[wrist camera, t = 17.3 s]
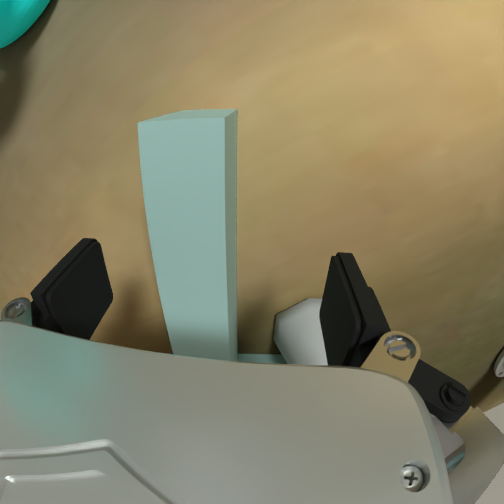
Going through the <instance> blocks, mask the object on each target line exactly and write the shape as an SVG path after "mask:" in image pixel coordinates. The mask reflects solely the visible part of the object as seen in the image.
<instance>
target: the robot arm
mask: <svg viewBox="0 0 504 504" xmlns="http://www.w3.org/2000/svg"><path fill="white" fill-rule="evenodd" d="M31 296H32V298H33V301H32V302H30V300H29V299H28V298H25V297H20V298H16V299H14V300H12V301H11V302H9V303H8V304H7V305H6V306H5V307H4V309H3V310H2V314H1V320H0V504H475V502H476V501H477V500H478V499H479V497H480V496H481V494H482V493H483V492H484V491H485V489H486V488H487V487H488V486H489V484H490V483H491V481H492V480H493V479H494V477H495V476H496V474H497V473H498V471H499V470H500V468H501V467H502V465H503V464H504V434H503V433H502V432H501V431H500V430H499V429H498V428H497V427H496V426H495V425H494V424H493V423H492V422H491V421H490V420H489V419H488V418H487V417H486V416H485V415H484V414H483V413H482V411H481V410H480V409H479V408H478V407H476V408H475V409H473V408H472V407H471V406H470V404H471V398H470V394H469V392H468V390H467V389H466V388H465V386H463V385H462V384H461V383H459V382H458V381H456V380H454V379H453V378H451V377H449V376H447V375H446V374H444V373H442V372H441V371H439V370H437V369H435V368H434V367H432V366H430V365H429V364H427V363H425V362H424V361H422V360H420V359H419V357H420V353H421V351H420V346H419V345H418V343H417V341H416V340H415V339H414V338H413V337H411V336H409V335H408V334H406V333H403V332H398V331H392V332H391V330H390V328H389V325H388V323H387V321H386V318H385V316H384V314H383V311H382V309H381V307H380V304H379V302H378V300H377V298H376V296H375V293H374V291H373V289H372V288H371V287H368V286H367V284H366V282H365V279H364V277H363V275H362V273H361V271H360V269H359V266H358V264H357V262H356V260H355V258H354V256H353V254H352V253H341V252H338V253H337V254H336V256H332V257H331V261H330V266H329V271H328V275H327V280H326V285H325V289H324V294H323V298H322V302H321V307H320V312H319V319H320V324H321V330H322V335H323V341H324V346H325V352H326V357H327V363H328V365H304V364H274V363H255V362H240V361H228V360H217V359H207V358H198V357H189V356H181V355H174V354H166V353H159V352H153V351H146V350H140V349H134V348H128V347H123V346H117V345H112V344H107V343H102V342H97V341H92V340H90V338H91V336H92V334H93V333H94V331H95V329H96V327H97V326H98V324H99V322H100V321H101V319H102V317H103V316H104V314H105V312H106V311H107V309H108V308H109V306H110V304H111V303H112V300H113V293H112V289H111V285H110V282H109V278H108V274H107V270H106V266H105V262H104V257H103V253H102V248H101V245H100V243H99V242H98V241H97V240H96V239H91V238H83V239H82V240H81V241H80V242H79V243H78V244H76V245H75V246H74V247H73V248H72V249H71V250H70V251H69V252H68V253H67V254H66V255H65V256H64V257H63V258H62V259H61V260H60V262H59V263H58V264H57V265H56V266H55V267H54V268H53V269H52V270H51V271H50V272H49V273H48V274H47V275H46V276H45V277H44V278H43V280H42V281H41V282H40V283H39V284H38V285H37V286H36V287H35V288H34V290H33V291H32V292H31ZM494 372H495V375H496V376H497V377H504V349H503V350H502V352H501V353H500V355H499V356H498V358H497V360H496V362H495V365H494Z"/></svg>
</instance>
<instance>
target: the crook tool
mask: <svg viewBox="0 0 504 504" xmlns="http://www.w3.org/2000/svg"><path fill="white" fill-rule="evenodd" d="M237 114H238V109H207V110H185V111H179V112H175V113H171V114H167V115H163V116H159V117H156V118H152V119H148V120H145V121H141V122H138V139H139V152H140V164H141V175H142V185H143V194H144V202H145V210H146V218H147V225H148V232H149V238H150V245H151V251H152V257H153V263H154V268H155V274H156V279H157V284H158V289H159V294H160V299H161V304H162V309H163V313H164V318H165V322H166V326H167V331H168V335H169V339H170V343H171V347H172V351H173V354H174V355H181V356H189V357H198V358H207V359H217V360H228V361H240V362H255V363H274V364H287V362H286V361H285V359H284V357H283V356H282V354H238V339H237Z"/></svg>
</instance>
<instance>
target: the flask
mask: <svg viewBox="0 0 504 504" xmlns="http://www.w3.org/2000/svg"><path fill="white" fill-rule="evenodd" d="M321 302H322V298H308V299H306V300H304V301H302V302H300V303H298V304H296V305H294V306H292V307H290V308H288V309H286V310H284V311H282V312H280V313H278V314H276V321H275V329H274V336H273V340H274V342H275V343H276V345H277V347H278V349H279V350H280V352H281V354H282V356H283V357H284V359H285V361H286V362H287V364H304V365H328V363H327V357H326V352H325V346H324V341H323V335H322V330H321V324H320V319H319V312H320V307H321Z"/></svg>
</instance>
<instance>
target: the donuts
mask: <svg viewBox="0 0 504 504" xmlns="http://www.w3.org/2000/svg"><path fill="white" fill-rule="evenodd" d="M49 2H50V0H0V49H1V48H3V47H5V46H7V45H9V44H11V43H12V42H14V41H15V40H17V39H18V38H19V37H20V36H22V35H23V34H24V33H25V32H26V31H27V30H28V29H29V28H30V27H31V26H32V25H33V24H34V22H35V21H36V20H37V19H38V17H39V16H40V15H41V14H42V12H43V11H44V9H45V8H46V6H47V5H48V3H49Z"/></svg>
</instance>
